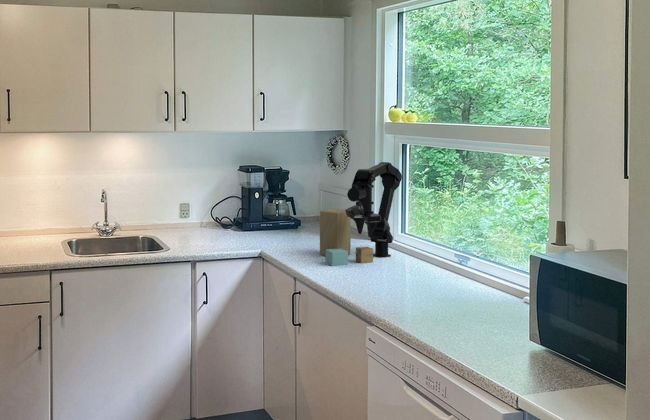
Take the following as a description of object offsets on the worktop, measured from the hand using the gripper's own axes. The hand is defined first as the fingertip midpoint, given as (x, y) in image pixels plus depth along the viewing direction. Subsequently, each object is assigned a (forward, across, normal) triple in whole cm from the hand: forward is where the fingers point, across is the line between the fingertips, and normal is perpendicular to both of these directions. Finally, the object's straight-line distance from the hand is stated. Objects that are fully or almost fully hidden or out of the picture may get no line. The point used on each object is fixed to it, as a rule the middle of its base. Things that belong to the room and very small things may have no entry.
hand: (364, 235), depth 344 cm
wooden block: (+12, -19, -5) cm, 23 cm away
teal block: (+11, 0, -13) cm, 17 cm away
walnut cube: (+11, 0, 0) cm, 11 cm away
